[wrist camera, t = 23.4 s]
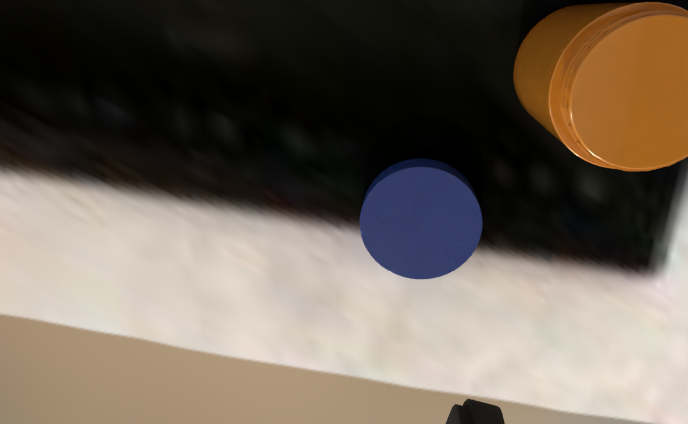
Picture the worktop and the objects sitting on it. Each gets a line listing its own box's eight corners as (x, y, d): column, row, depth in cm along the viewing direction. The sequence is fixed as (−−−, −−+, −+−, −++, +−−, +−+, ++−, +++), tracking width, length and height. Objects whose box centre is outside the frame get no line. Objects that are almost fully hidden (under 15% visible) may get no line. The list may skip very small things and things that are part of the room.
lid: (445, 283, 33) (447, 298, 32) (344, 239, 33) (340, 252, 32) (500, 187, 31) (505, 197, 29) (391, 139, 31) (389, 146, 29)
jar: (497, 113, 29) (534, 158, 21) (537, -9, 27) (597, -18, 18) (611, 140, 29) (698, 197, 20) (662, 19, 27) (783, 24, 18)
